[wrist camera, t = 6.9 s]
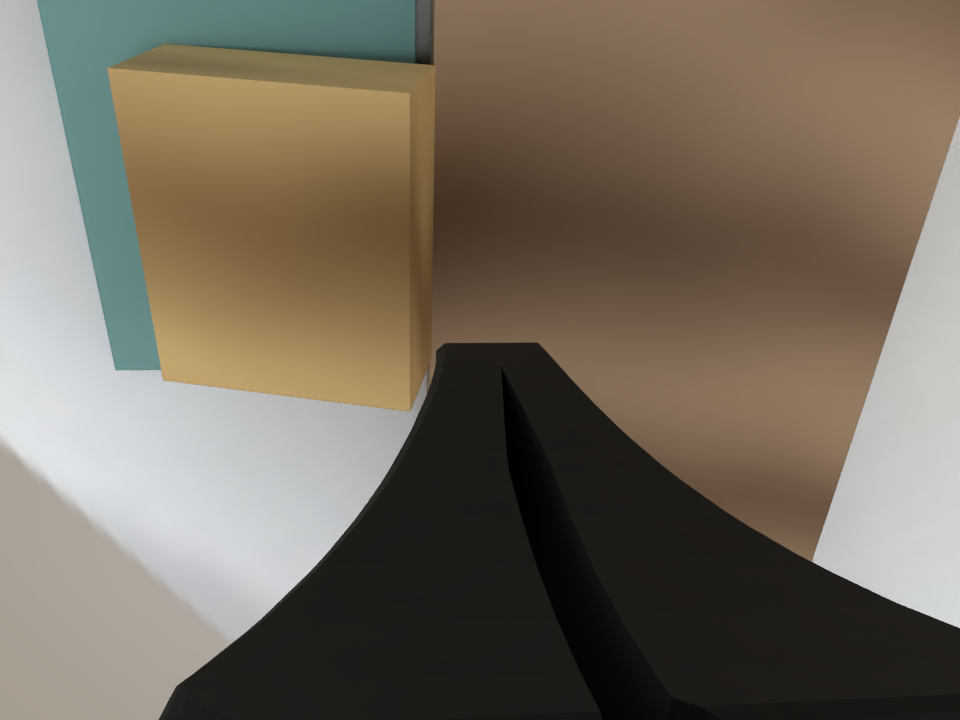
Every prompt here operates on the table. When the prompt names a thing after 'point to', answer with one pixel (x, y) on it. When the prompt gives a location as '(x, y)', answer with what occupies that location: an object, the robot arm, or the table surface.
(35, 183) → the table surface
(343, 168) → the tile
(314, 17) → the mat
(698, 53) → the deck
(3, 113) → the table surface
